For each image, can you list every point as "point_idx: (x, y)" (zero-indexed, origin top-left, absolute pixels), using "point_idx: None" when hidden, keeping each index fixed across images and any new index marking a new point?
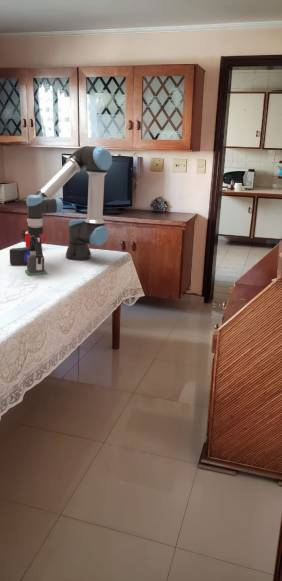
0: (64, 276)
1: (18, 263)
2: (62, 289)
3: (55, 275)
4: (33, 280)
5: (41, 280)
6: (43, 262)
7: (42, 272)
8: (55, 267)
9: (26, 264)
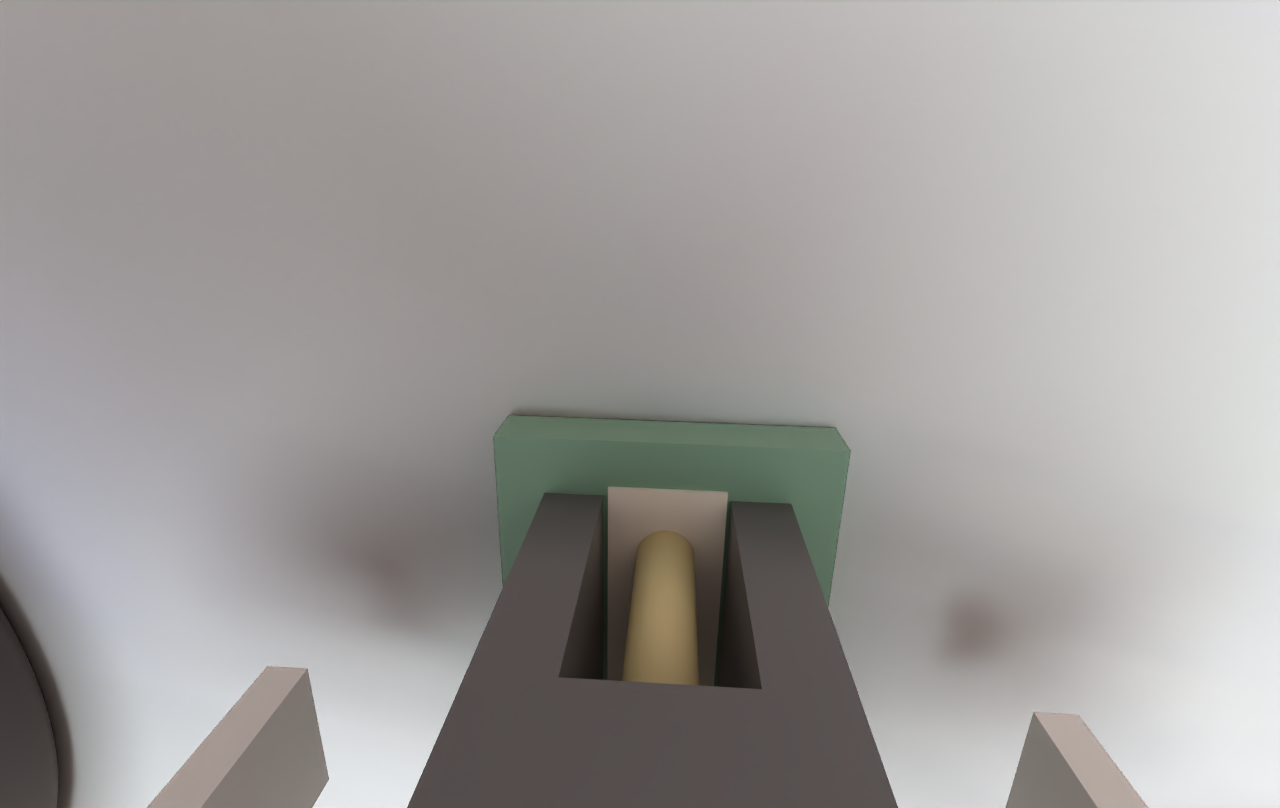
0: (1243, 20)
1: (29, 799)
2: None
3: (1012, 258)
4: (1129, 775)
5: (1220, 658)
6: (855, 730)
7: (833, 562)
8: (216, 6)
9: (11, 643)
